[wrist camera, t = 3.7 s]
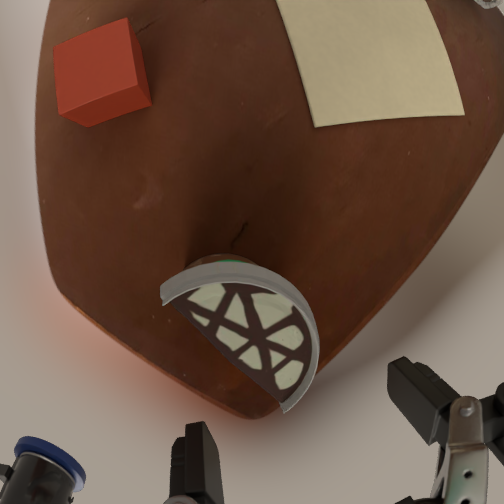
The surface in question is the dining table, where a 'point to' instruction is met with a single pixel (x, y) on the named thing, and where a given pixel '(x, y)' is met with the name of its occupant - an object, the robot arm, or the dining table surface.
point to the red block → (100, 74)
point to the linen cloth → (370, 60)
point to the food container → (250, 321)
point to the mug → (489, 3)
